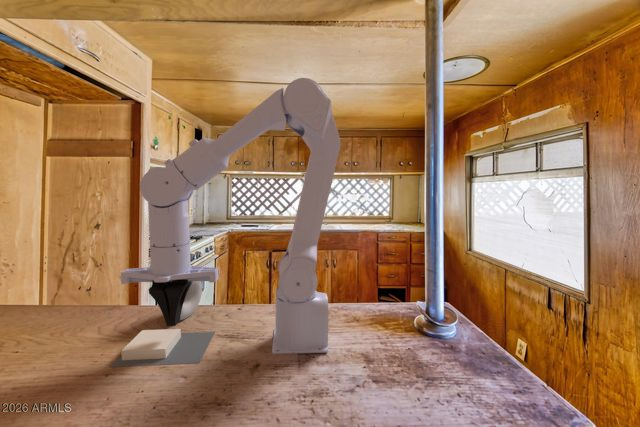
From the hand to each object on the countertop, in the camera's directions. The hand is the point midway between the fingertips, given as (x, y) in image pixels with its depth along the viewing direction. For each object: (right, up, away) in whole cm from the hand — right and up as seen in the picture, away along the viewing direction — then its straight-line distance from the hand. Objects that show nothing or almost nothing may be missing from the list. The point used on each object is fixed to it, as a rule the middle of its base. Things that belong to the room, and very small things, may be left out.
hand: (173, 323), depth 46 cm
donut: (-4, -4, +11) cm, 12 cm away
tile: (0, -4, 0) cm, 4 cm away
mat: (-1, -5, 0) cm, 5 cm away
